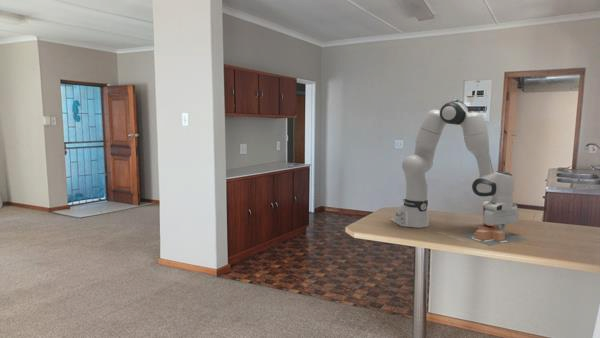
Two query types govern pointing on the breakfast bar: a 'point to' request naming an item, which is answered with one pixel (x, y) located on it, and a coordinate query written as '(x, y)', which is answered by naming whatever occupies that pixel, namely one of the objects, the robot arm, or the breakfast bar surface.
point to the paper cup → (483, 217)
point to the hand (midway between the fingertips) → (500, 232)
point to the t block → (489, 234)
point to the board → (492, 242)
